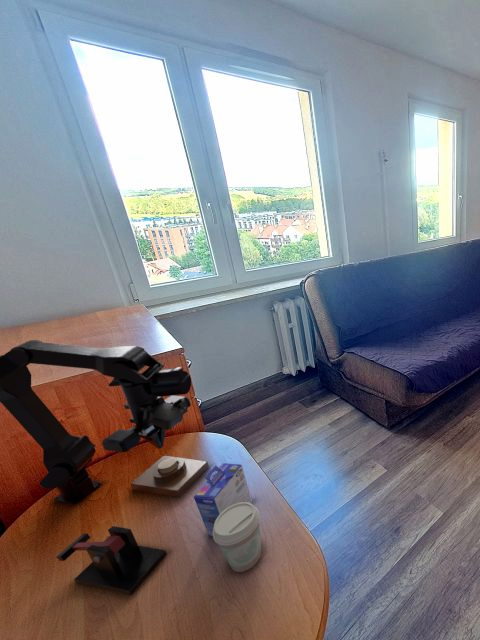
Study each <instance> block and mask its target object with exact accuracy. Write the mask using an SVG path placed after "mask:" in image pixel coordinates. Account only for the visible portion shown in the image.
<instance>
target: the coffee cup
mask: <svg viewBox="0 0 480 640" xmlns="http://www.w3.org/2000/svg"><path fill="white" fill-rule="evenodd" d="M260 521H261V513H260V511H259V509H258V508H257V507H256V506H255V505H254V504H253V503H252V502H251V503H248V502H240V503H237V504H234V505H232V506H230V507H228V508H226V509H225V510H224V511H223V512H222V513H221V514H220V515H219V516H218V517H217V519H216V521H215V523H214V527H213V536H212V539H213V541H214V542H215V543H216V544H217V545H218V546H219V548H220V550H221V551H222V553H223V555H224V557H225V559H226V561H227V562H228V564H229V566H230V568H231V569H232V570H233V571H234V572H236V573H241V572H242V573H243V572H245V571H248V570H250V569H251V568H253V567H254V566H255V565H256V564H257V563H258V561H259V560H260V558H261V556H262V545H261V544H262V543H261V531H260V530H261V529H260Z"/></svg>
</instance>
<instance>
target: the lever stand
mask: <svg viewBox="0 0 480 640" xmlns="http://www.w3.org/2000/svg"><path fill="white" fill-rule="evenodd" d="M107 531H108V534H109V536H120V537H121V538H122V540H123V541H124V542H125V545H124V546H123V547H122V548H121V549H120V550H119V551H118V552H117V553H116V554H113V552H112V550H111V548H106V547H101V546H96V545H91V546H90V547H89V548H87V549H86V550H85V551H86V552H87V553H88V556H89V558H90V559H91V561H92V562H91V563H89V565H88V566H86V567H85V568H84V569H83V570H82V571H81V572H80V573H79V574H78V575H77V576H76V577H75V578H74V579H73V580H74V582H75V584H78V585H83V586H87V587H92V588H97V589H102V590H105V591H111V592H116V593H121V594H125V595H129V596H132V595H133V594H134V592H135V591H136V590H137V589H138V588H139V587H140V586H141V585H142V583H143V582H144V581H145V580H146V579H147V578H148V577H149V576H150V574H152V572H153V571H154V570H155V569H156V567H158V565H159V564H160V563H161V562H162V561H163V559H164V558H165V557H167V555H168V552H167V550H166V549H161V548H155V547H150V546H144V545H140V544H138V542H137V540H136V538H135V536H134V533H133V531H132V529H131V528H127V527H121V526H115V525H112V526H111V527H110V528H108V530H107Z"/></svg>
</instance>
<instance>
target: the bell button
mask: <svg viewBox="0 0 480 640" xmlns="http://www.w3.org/2000/svg"><path fill="white" fill-rule="evenodd" d="M177 466H178V463H177V460H176V459H175V458H168V459H165V460H163V461H162V462H160V463H159V465H158V469H159V472H160V473H161V474H164V473H169V472H171V471H173V470H174V469H175V468H176V467H177Z"/></svg>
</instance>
